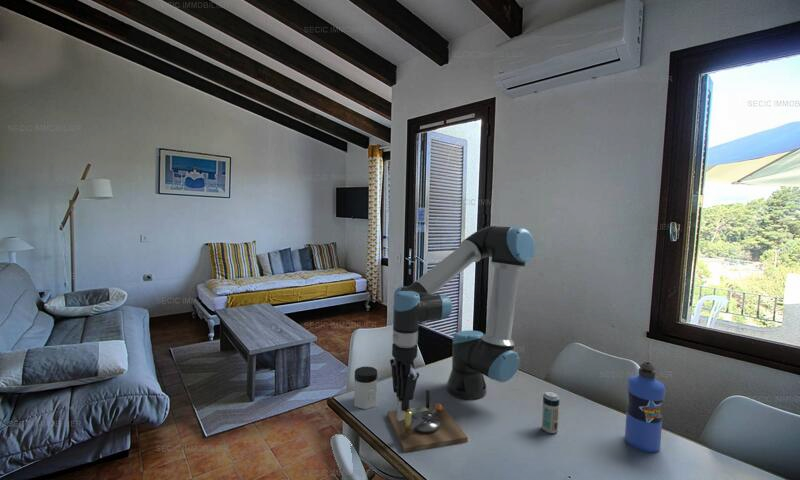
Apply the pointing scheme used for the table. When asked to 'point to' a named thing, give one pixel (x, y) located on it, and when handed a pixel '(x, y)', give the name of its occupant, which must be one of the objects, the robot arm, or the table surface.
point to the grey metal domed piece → (422, 420)
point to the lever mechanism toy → (420, 441)
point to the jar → (365, 387)
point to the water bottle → (644, 410)
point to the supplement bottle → (550, 412)
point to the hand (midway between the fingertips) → (401, 418)
